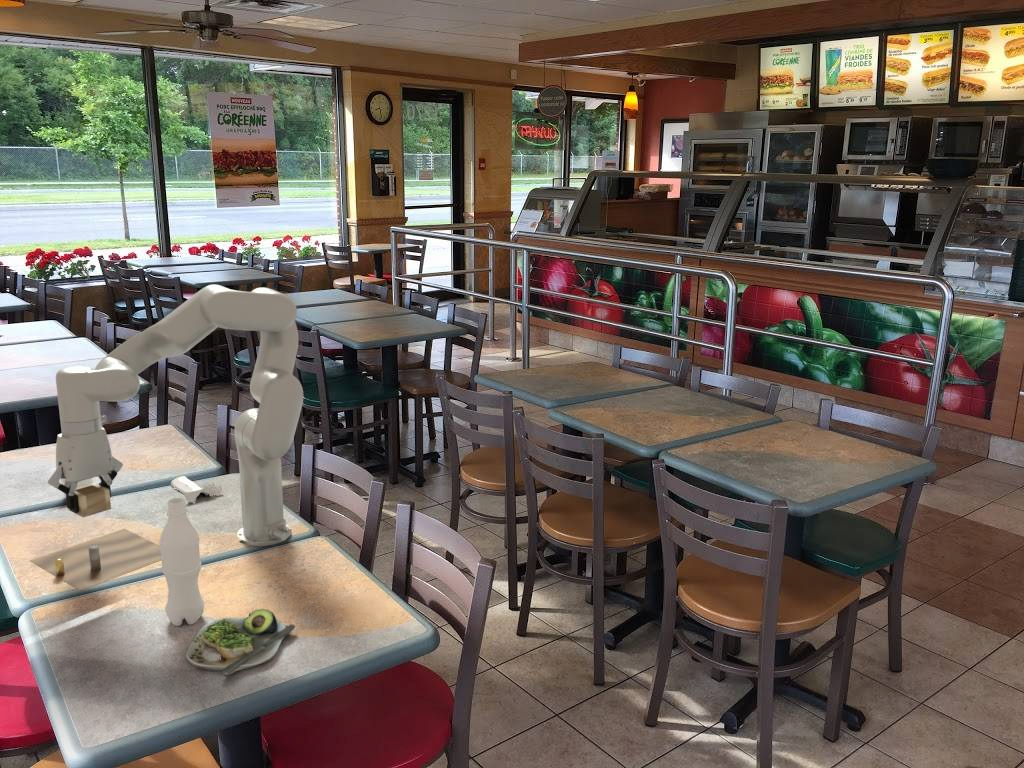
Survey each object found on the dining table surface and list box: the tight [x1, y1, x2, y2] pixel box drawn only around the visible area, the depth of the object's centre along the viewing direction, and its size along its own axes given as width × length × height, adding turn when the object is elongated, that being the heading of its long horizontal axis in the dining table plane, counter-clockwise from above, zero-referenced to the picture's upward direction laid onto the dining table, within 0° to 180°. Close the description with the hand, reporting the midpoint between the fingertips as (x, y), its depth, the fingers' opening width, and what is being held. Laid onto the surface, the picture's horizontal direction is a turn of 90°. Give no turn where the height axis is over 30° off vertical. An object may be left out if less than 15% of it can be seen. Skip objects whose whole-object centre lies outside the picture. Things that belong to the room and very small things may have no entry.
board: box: [29, 528, 162, 592], centre depth 187 cm, size 22×22×6 cm
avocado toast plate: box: [185, 608, 296, 676], centre depth 154 cm, size 19×18×5 cm
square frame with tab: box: [72, 482, 112, 518], centre depth 180 cm, size 10×6×4 cm, turn 53°
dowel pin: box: [55, 558, 65, 577], centre depth 179 cm, size 2×2×4 cm
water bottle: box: [158, 497, 205, 627], centre depth 162 cm, size 7×7×25 cm
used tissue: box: [170, 475, 224, 505], centre depth 230 cm, size 11×18×4 cm, turn 33°
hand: (89, 505), depth 179 cm, fingers closed on square frame with tab, 6 cm apart
